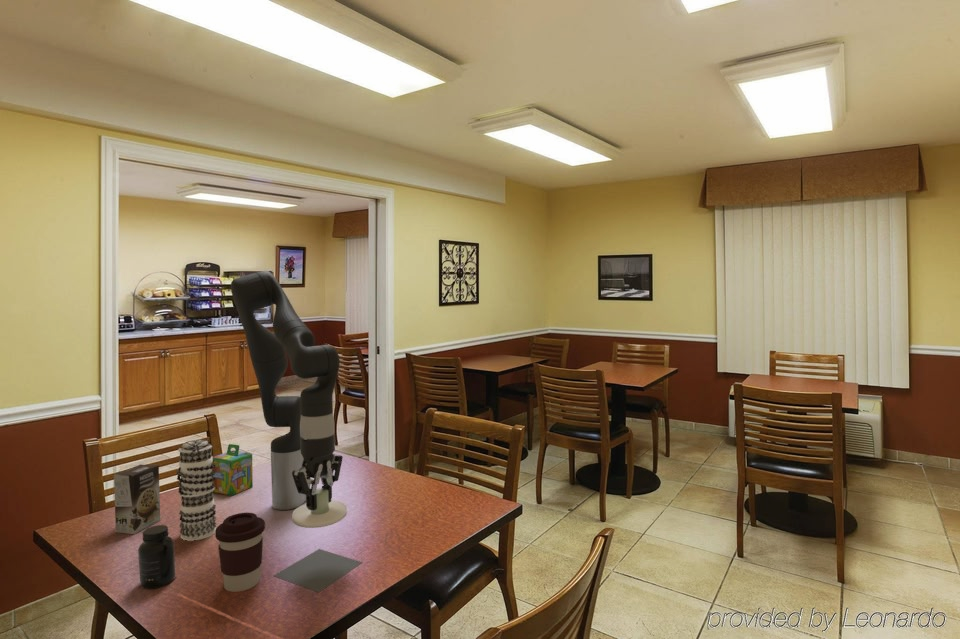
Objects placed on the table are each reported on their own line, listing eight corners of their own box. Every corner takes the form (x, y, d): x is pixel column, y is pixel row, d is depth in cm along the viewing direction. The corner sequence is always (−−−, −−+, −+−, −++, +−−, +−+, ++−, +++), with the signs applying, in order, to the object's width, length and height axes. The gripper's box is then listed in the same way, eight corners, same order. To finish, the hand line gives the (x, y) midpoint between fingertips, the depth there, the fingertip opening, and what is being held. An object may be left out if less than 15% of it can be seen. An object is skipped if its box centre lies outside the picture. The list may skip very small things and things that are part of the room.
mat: (319, 551, 131) (319, 548, 131) (362, 564, 124) (362, 562, 124) (273, 578, 119) (273, 575, 119) (318, 594, 112) (318, 592, 112)
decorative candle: (225, 527, 145) (222, 437, 143) (202, 542, 136) (198, 447, 134) (195, 524, 146) (192, 436, 145) (170, 540, 137) (167, 446, 136)
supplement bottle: (150, 574, 121) (148, 523, 120) (181, 572, 121) (179, 521, 121) (133, 591, 114) (130, 537, 113) (165, 589, 114) (163, 535, 114)
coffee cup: (276, 577, 119) (274, 512, 118) (243, 601, 110) (241, 531, 109) (241, 569, 122) (239, 506, 122) (206, 592, 113) (204, 524, 112)
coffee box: (134, 534, 140) (132, 475, 140) (114, 532, 142) (112, 474, 141) (161, 520, 149) (159, 464, 148) (142, 518, 151) (140, 463, 150)
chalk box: (210, 492, 170) (208, 447, 169) (233, 483, 178) (232, 440, 178) (231, 496, 166) (230, 450, 166) (254, 486, 175) (252, 443, 174)
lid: (319, 501, 129) (319, 478, 129) (357, 510, 124) (357, 487, 123) (280, 520, 119) (280, 496, 118) (320, 532, 113) (319, 506, 113)
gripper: (327, 423, 128) (329, 491, 129) (281, 438, 115) (283, 514, 116) (351, 427, 124) (352, 497, 125) (305, 443, 112) (308, 521, 113)
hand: (319, 505), depth 121 cm, fingers closed on lid, 4 cm apart
